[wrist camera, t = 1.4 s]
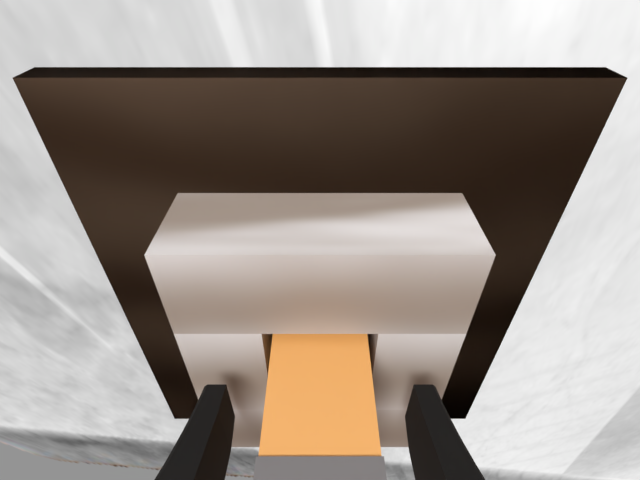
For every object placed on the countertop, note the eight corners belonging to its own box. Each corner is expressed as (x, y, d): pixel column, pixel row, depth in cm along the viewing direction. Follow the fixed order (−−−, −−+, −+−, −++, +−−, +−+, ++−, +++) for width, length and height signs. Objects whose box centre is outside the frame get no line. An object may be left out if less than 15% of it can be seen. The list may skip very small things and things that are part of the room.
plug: (278, 273, 14) (252, 484, 9) (361, 273, 14) (387, 483, 9) (284, 341, 17) (267, 537, 11) (355, 341, 17) (372, 537, 11)
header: (34, 67, 11) (-81, 122, 8) (605, 67, 11) (720, 122, 8) (179, 401, 22) (156, 479, 19) (460, 401, 22) (483, 479, 19)
